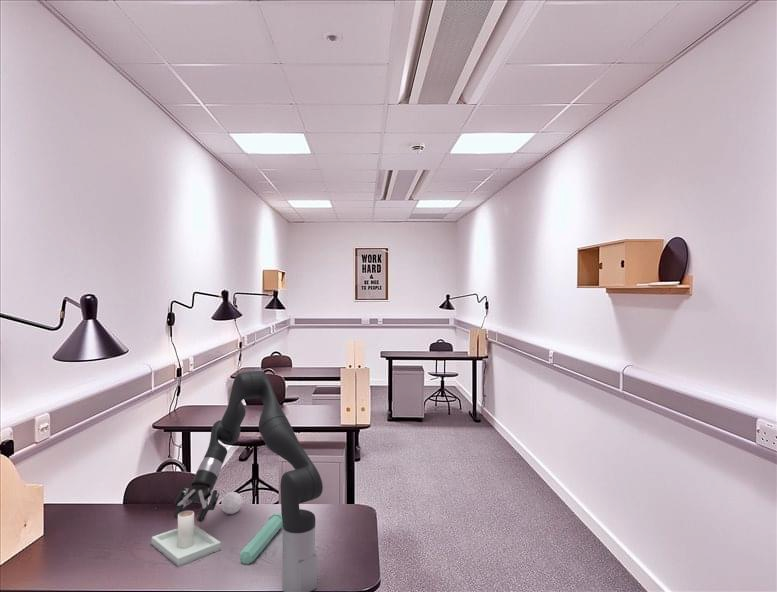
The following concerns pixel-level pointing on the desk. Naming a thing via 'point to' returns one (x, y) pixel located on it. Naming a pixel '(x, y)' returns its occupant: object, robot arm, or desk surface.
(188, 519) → the cup
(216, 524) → the desk surface
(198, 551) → the tray
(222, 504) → the geometric ball
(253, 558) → the green faceted rod
